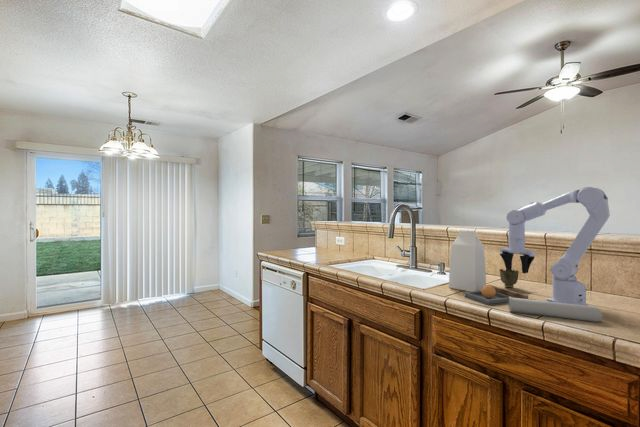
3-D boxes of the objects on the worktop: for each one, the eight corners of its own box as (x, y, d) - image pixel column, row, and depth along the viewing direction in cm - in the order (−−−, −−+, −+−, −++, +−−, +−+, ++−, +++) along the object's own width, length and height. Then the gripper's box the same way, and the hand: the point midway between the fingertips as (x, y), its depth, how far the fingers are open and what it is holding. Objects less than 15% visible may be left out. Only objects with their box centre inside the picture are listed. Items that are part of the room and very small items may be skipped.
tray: (513, 302, 118) (513, 297, 118) (488, 305, 115) (488, 300, 115) (488, 294, 130) (488, 290, 130) (464, 296, 126) (464, 292, 126)
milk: (448, 287, 142) (448, 230, 142) (459, 283, 150) (459, 229, 150) (475, 292, 133) (475, 231, 133) (486, 287, 141) (486, 230, 141)
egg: (497, 297, 122) (497, 285, 122) (493, 300, 119) (493, 287, 119) (484, 295, 126) (484, 283, 126) (479, 297, 122) (479, 285, 122)
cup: (513, 285, 144) (513, 268, 144) (522, 289, 137) (522, 271, 137) (496, 285, 145) (496, 268, 145) (504, 289, 138) (504, 271, 138)
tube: (598, 306, 100) (508, 297, 111) (604, 305, 96) (509, 295, 107) (600, 324, 99) (508, 312, 110) (606, 324, 94) (510, 312, 105)
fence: (528, 303, 117) (528, 295, 117) (525, 303, 116) (525, 295, 116) (489, 291, 134) (489, 284, 134) (487, 292, 133) (487, 285, 133)
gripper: (540, 240, 125) (540, 273, 125) (508, 237, 138) (508, 267, 139) (527, 240, 123) (527, 275, 123) (496, 237, 136) (496, 268, 136)
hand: (516, 271), depth 130 cm, fingers open, 7 cm apart
